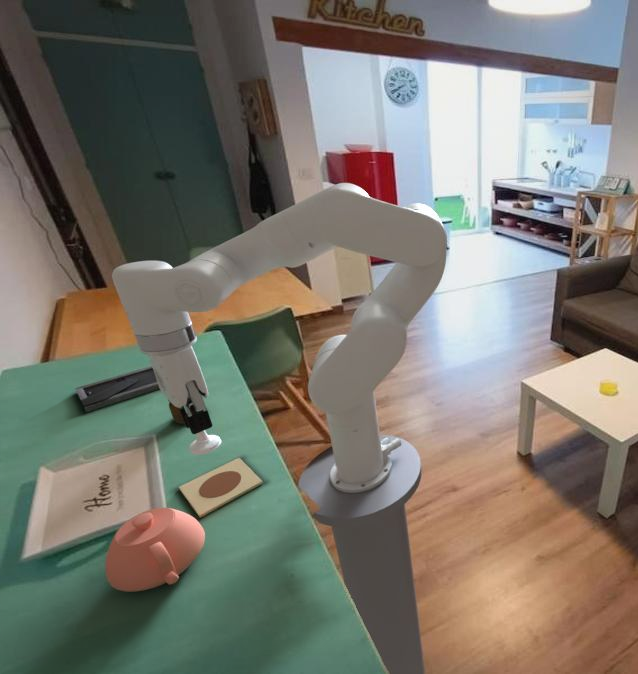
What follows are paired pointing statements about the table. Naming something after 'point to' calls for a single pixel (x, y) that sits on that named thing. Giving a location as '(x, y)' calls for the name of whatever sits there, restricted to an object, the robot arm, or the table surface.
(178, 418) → the utensil holder
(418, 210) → the robot arm
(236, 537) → the table surface
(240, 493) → the beige square coaster
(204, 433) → the chess piece
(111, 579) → the sugar bowl
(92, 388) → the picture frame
